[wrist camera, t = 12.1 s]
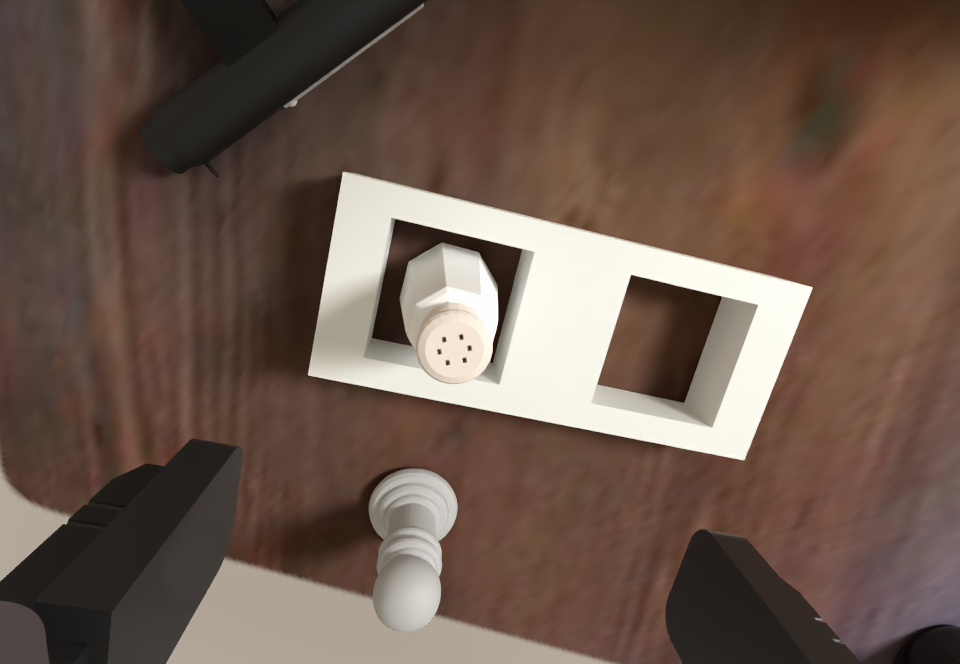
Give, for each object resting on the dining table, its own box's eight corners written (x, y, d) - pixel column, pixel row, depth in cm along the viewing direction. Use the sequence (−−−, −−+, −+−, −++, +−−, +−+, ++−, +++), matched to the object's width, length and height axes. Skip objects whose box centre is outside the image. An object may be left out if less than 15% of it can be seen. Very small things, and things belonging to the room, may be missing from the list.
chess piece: (449, 545, 34) (454, 667, 26) (364, 536, 34) (339, 658, 25) (463, 470, 33) (473, 572, 24) (375, 459, 33) (353, 560, 24)
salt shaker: (407, 344, 31) (391, 429, 20) (391, 248, 29) (365, 286, 19) (502, 331, 31) (536, 408, 20) (491, 235, 30) (521, 265, 19)
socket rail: (772, 276, 31) (812, 287, 28) (713, 432, 34) (744, 460, 30) (354, 173, 28) (342, 171, 25) (322, 353, 31) (307, 375, 27)
